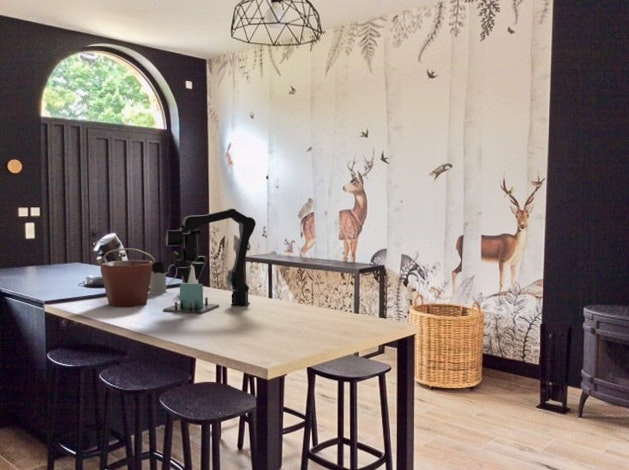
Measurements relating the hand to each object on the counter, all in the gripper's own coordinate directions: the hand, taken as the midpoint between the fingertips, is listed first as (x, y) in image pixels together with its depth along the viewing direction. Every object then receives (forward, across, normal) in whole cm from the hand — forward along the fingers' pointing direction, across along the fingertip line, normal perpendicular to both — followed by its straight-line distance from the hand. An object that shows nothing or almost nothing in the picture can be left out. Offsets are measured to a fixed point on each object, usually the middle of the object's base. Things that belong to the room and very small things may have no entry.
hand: (191, 281), depth 250 cm
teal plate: (+11, +1, 0) cm, 11 cm away
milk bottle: (+12, -36, -22) cm, 44 cm away
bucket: (+12, -2, -34) cm, 36 cm away
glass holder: (+12, -32, -35) cm, 49 cm away
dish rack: (+12, +1, 0) cm, 12 cm away
